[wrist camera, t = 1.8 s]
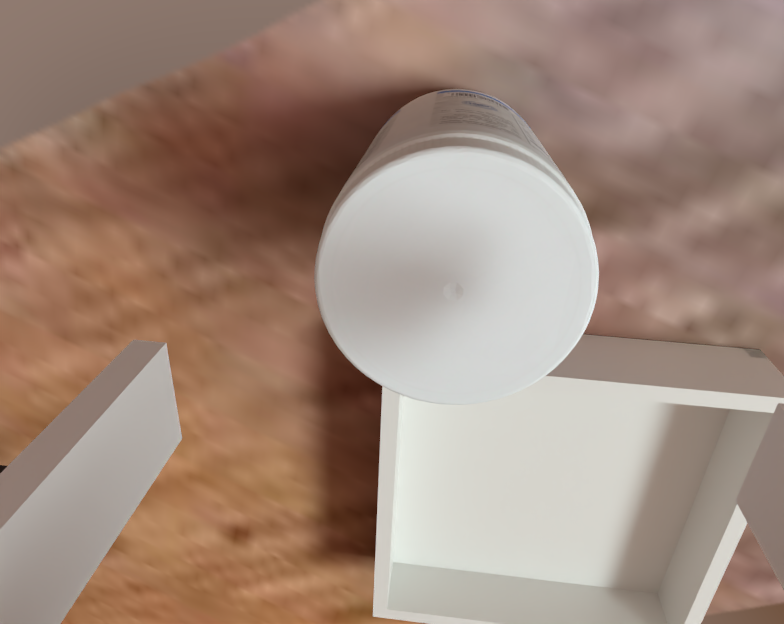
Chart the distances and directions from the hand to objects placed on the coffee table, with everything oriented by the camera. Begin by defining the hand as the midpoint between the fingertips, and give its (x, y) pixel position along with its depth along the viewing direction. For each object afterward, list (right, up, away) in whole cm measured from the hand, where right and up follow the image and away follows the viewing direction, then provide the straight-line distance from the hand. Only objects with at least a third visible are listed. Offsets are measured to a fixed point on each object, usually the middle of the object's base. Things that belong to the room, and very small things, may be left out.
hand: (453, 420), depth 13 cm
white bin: (+9, -9, +28) cm, 30 cm away
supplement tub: (+2, +10, +19) cm, 22 cm away
